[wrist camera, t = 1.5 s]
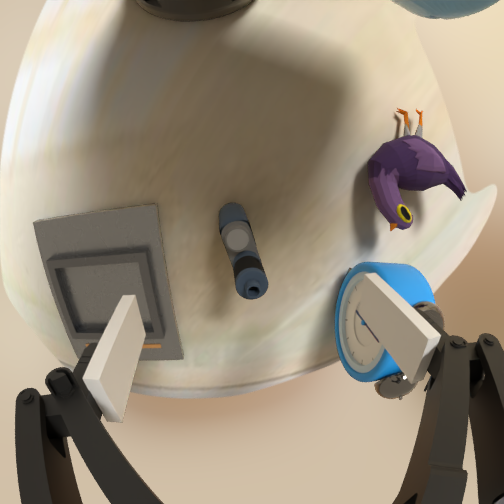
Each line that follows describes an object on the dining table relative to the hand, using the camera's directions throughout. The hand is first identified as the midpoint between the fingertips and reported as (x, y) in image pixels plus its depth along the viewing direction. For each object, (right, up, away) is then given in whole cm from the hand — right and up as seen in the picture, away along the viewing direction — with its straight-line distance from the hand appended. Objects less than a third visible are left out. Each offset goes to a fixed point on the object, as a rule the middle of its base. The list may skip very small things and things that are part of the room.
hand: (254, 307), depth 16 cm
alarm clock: (+13, -2, +20) cm, 24 cm away
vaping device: (-2, +6, +15) cm, 16 cm away
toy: (+18, +14, +14) cm, 26 cm away
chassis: (-17, -2, +16) cm, 24 cm away
